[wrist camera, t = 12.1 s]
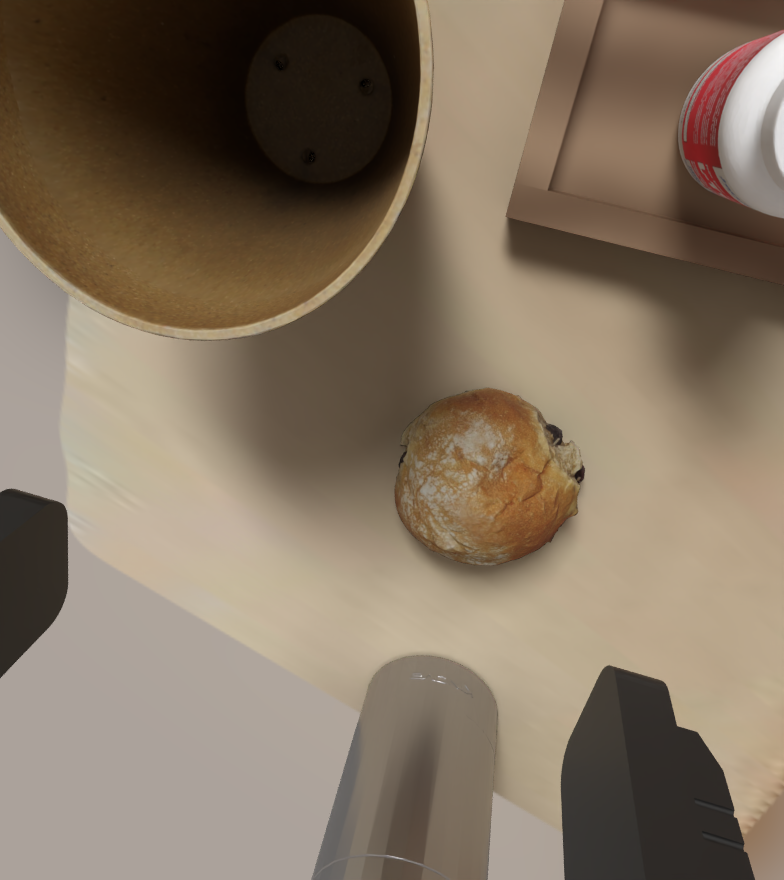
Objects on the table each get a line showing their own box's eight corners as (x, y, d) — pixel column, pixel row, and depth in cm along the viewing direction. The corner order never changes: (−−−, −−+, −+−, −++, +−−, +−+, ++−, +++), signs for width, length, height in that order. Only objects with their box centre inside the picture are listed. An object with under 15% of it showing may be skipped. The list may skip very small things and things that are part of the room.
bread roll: (449, 355, 41) (367, 389, 35) (614, 404, 36) (552, 454, 30) (431, 497, 45) (356, 549, 39) (577, 560, 40) (516, 630, 34)
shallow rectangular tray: (880, 302, 32) (906, 315, 30) (507, 210, 34) (505, 217, 31) (1039, 7, 27) (1085, -3, 25) (588, -87, 28) (593, -105, 26)
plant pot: (499, 224, 34) (475, 298, 20) (229, 277, 38) (44, 371, 23) (446, -143, 28) (358, -412, 14) (135, -37, 32) (-184, -166, 18)
